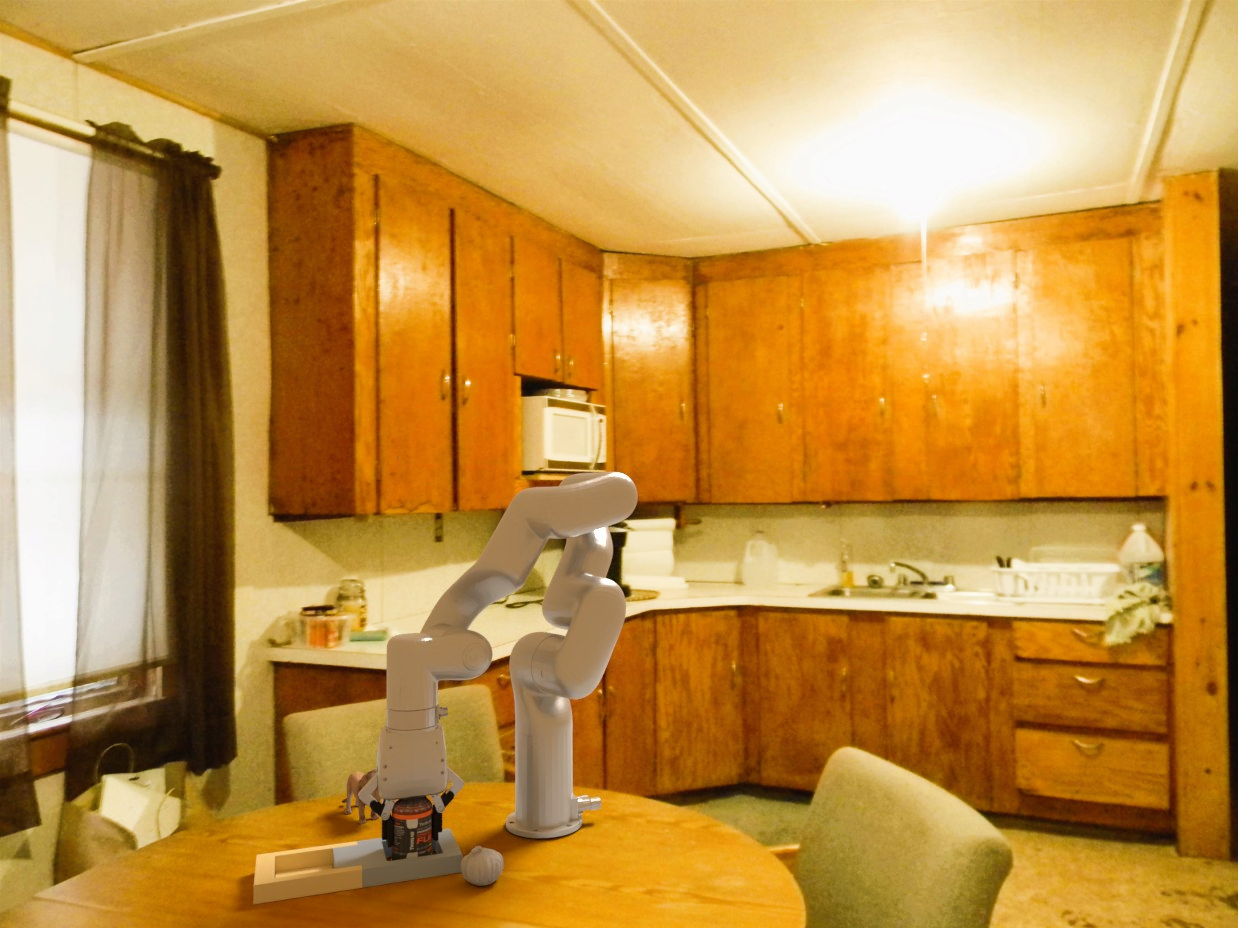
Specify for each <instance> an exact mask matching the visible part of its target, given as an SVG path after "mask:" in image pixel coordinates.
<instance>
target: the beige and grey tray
mask: <svg viewBox="0 0 1238 928" xmlns="http://www.w3.org/2000/svg"><path fill="white" fill-rule="evenodd" d="M434 851H435V854H432V855H428V856H421V857H414V858H407V859H400V860H394V861H391V860H389V861H388V859H387V858H391V857H392V847H389V848H388V846H387V843H386V840H382V837H377V838H370V839H363V840H355V841H349V842H340V843H334V844H333V843H332V844H327V845H319V846H318V845H317V846H311V847H305V848H304V847H303V848H296V849H290V850H283V851H282V850H281V851H276V852H268V853H261V854H256V859H255V869H254V878H253V879H254V880H253V897H252V898H253V903H252V904H253V905H257V904H264V903H265V904H266V903H270V902H278V901H283V900H292V899H295V898H304V897H310V896H315V895H323V894H329V893H334V892H335V893H336V892H342V891H348V890H355V889H360V888H361V889H362V888H363V889H364V888H367V887H368V888H370V887H375V886H381V885H387V884H388V885H389V884H394V883H395V884H396V883H400V882H408V881H413V880H420V879H427V878H432V877H434V878H435V877H441V876H447V875H452V874H459V873H462V872H461V867H460V865H461V861H462V859H463V858H464V856H463V852H462V850H461V849H460V846H459V845H458V843H457V840H456V837H455V836H454V834H453V832H452V829H451V828H444V829H443V828H442V832H439V833H438V841H434V840H433V838H432V852H434Z"/></svg>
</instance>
